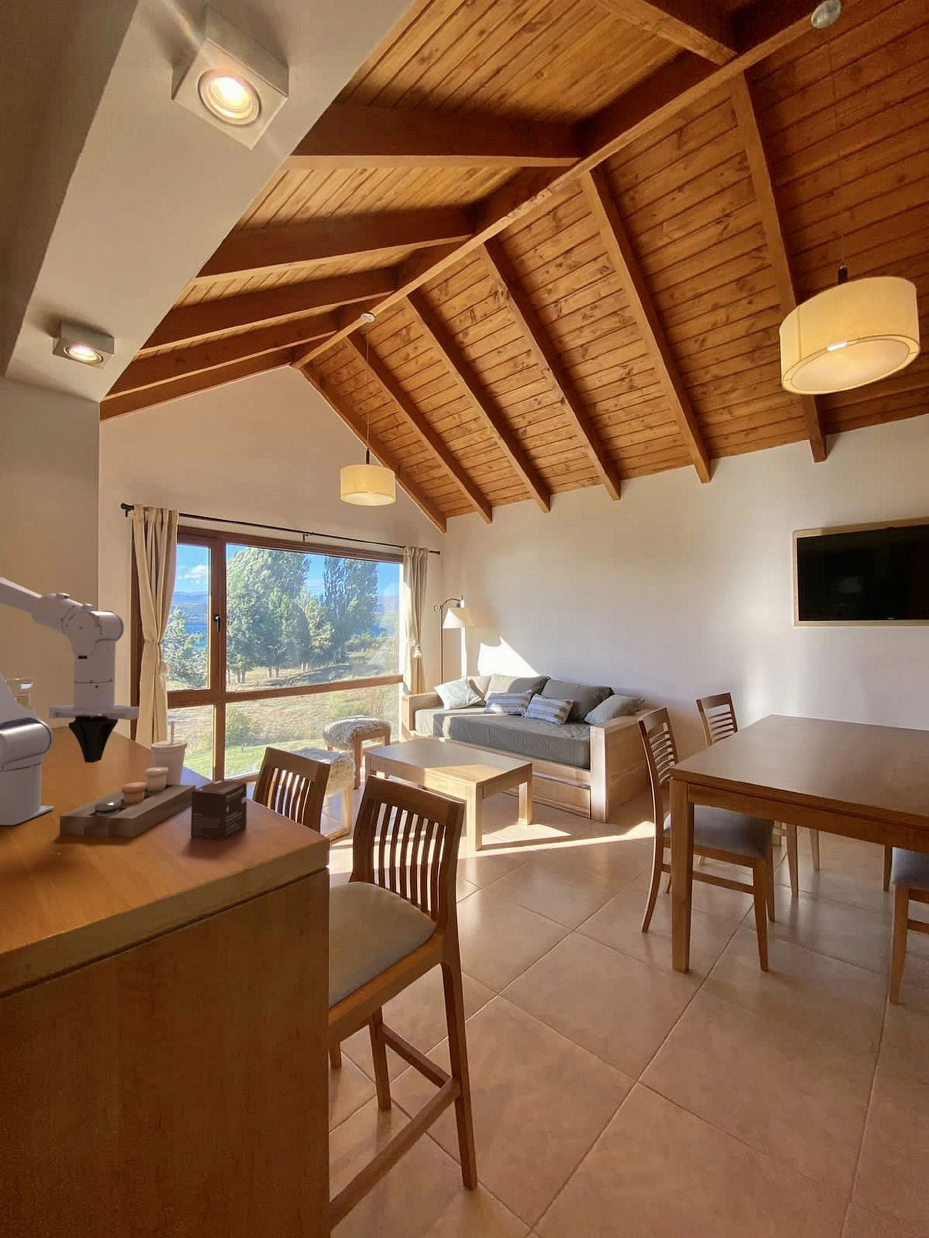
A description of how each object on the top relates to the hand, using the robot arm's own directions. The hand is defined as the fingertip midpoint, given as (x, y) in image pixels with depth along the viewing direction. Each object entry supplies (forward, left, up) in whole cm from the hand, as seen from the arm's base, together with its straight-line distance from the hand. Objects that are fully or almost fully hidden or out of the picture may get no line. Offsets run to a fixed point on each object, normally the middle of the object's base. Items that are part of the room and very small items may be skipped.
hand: (93, 761), depth 88 cm
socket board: (+6, +2, -10) cm, 12 cm away
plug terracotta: (+6, +2, -8) cm, 11 cm away
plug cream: (+6, +8, -7) cm, 12 cm away
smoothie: (+4, +15, -10) cm, 18 cm away
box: (+24, -3, -10) cm, 26 cm away
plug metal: (+6, -4, -10) cm, 12 cm away
